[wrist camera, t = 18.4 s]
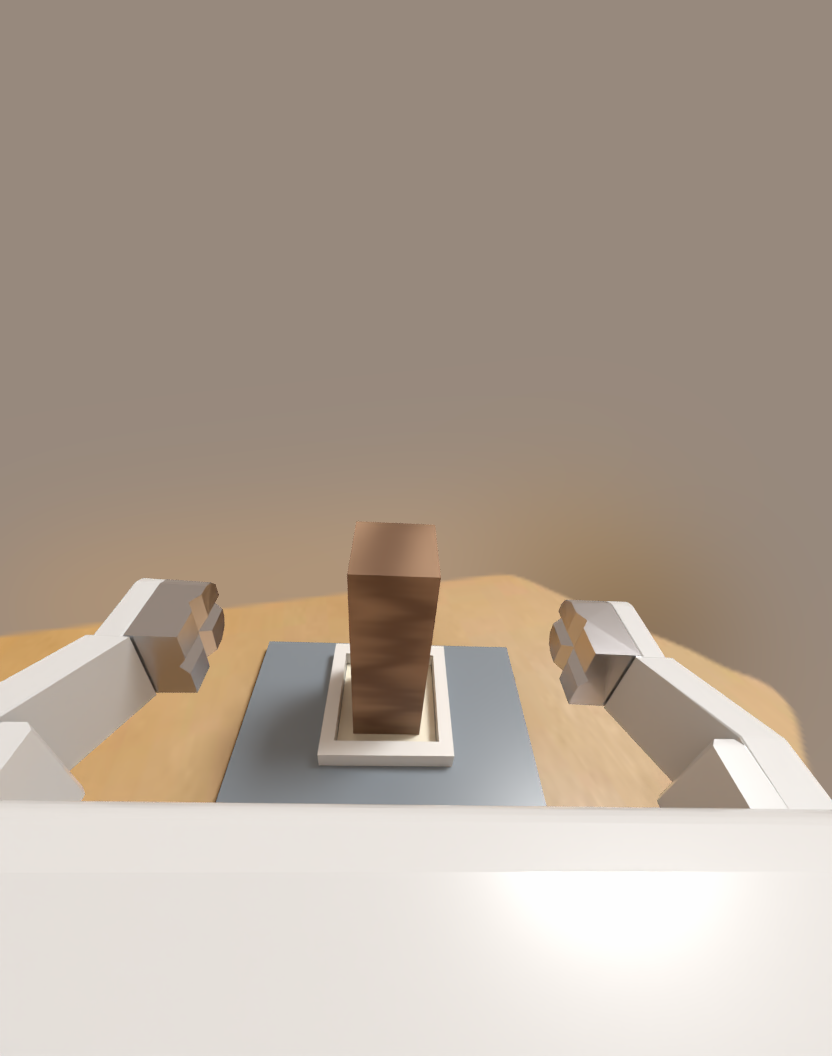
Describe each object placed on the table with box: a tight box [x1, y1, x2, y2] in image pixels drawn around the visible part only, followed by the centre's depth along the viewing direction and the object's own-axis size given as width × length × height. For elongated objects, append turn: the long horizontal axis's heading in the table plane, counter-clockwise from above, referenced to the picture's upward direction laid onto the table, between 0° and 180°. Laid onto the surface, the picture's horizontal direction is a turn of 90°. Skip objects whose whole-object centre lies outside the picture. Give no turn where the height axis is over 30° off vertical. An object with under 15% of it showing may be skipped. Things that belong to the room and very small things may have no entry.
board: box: [216, 642, 546, 806], centre depth 32 cm, size 22×16×1 cm
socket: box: [317, 644, 454, 767], centre depth 33 cm, size 10×10×2 cm
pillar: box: [347, 522, 441, 735], centre depth 28 cm, size 5×5×16 cm
